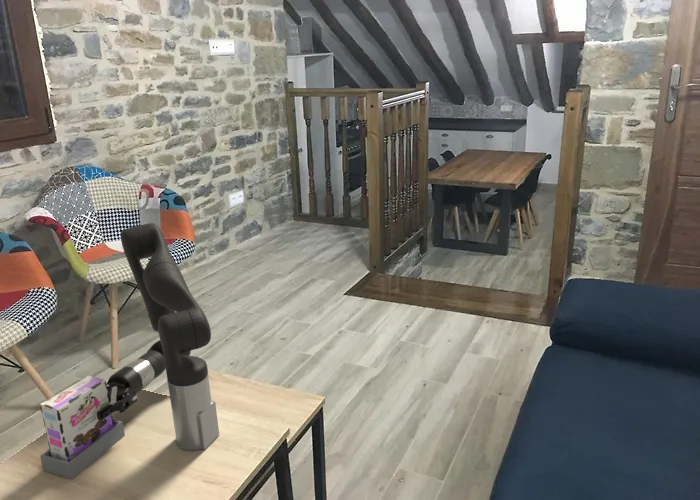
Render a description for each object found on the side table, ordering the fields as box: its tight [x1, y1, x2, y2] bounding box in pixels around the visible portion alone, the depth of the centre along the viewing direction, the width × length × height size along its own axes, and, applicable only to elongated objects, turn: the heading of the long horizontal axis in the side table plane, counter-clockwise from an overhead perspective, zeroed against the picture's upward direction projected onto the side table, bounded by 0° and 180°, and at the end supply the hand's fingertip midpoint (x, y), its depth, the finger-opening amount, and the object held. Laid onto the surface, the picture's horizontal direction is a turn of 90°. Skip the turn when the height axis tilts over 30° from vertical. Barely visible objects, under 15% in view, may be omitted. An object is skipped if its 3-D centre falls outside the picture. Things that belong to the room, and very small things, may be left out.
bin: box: [39, 419, 125, 480], centre depth 140 cm, size 9×17×4 cm, turn 158°
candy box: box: [39, 375, 114, 462], centre depth 138 cm, size 14×6×16 cm, turn 154°
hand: (84, 413), depth 139 cm, fingers open, 8 cm apart
